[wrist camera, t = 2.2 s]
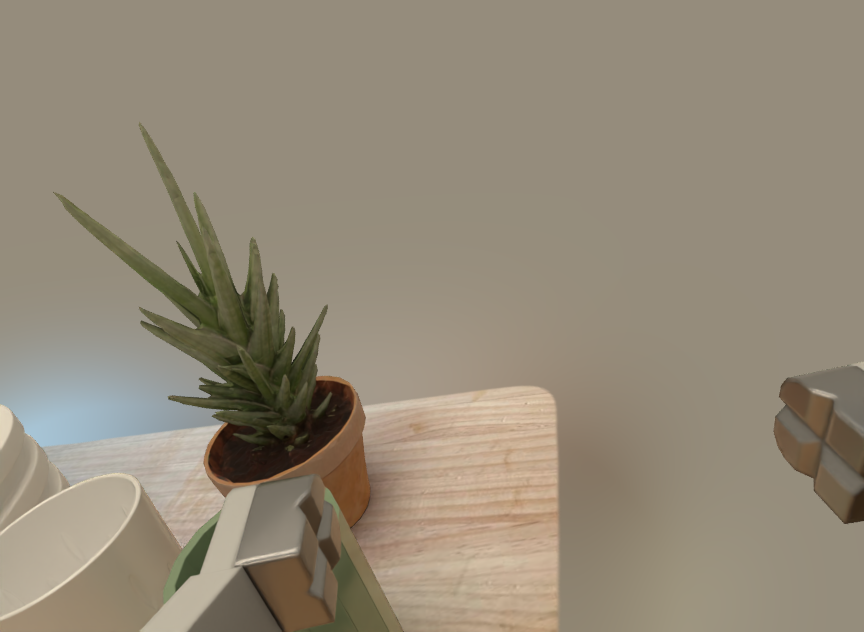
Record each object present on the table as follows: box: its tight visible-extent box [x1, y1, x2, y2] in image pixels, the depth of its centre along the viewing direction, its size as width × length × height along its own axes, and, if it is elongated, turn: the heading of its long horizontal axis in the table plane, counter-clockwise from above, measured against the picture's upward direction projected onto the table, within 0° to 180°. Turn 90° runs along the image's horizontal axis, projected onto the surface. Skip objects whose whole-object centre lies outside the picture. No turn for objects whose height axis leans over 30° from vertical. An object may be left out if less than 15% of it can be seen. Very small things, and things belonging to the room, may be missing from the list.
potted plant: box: [53, 122, 370, 527], centre depth 29 cm, size 10×10×25 cm
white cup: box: [0, 473, 183, 632], centre depth 25 cm, size 8×8×10 cm
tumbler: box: [163, 487, 404, 632], centre depth 21 cm, size 6×6×10 cm
